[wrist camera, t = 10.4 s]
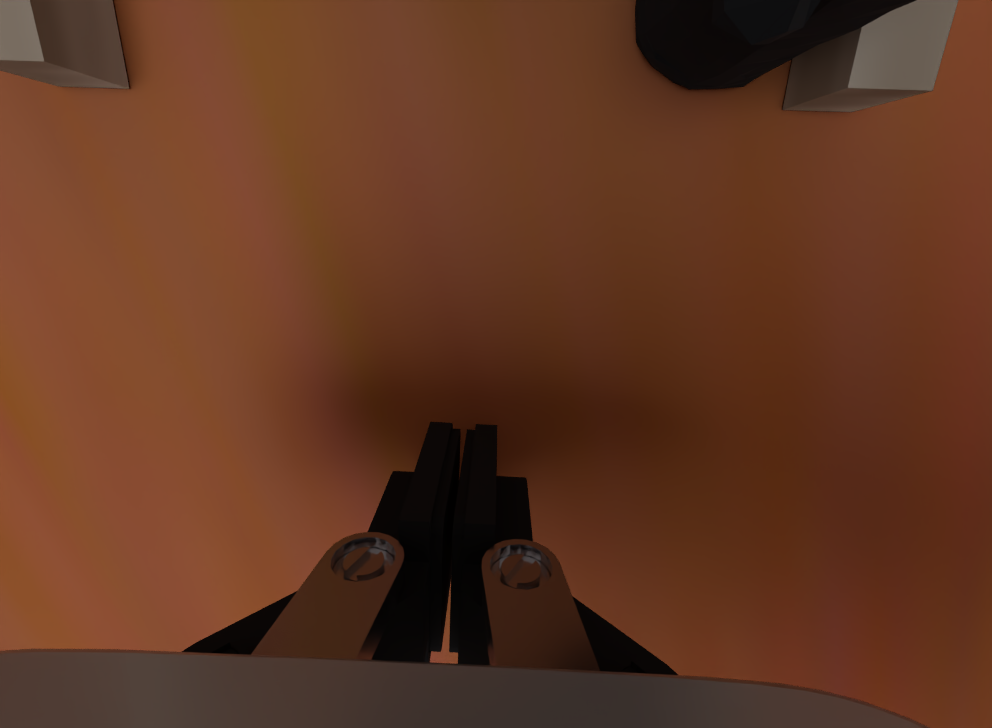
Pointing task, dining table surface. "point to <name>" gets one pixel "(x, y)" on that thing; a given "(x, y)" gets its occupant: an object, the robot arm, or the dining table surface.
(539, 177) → the dining table surface
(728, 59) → the film camera
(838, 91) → the camera rest
